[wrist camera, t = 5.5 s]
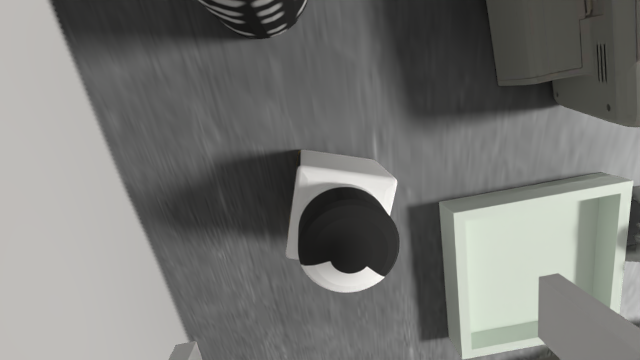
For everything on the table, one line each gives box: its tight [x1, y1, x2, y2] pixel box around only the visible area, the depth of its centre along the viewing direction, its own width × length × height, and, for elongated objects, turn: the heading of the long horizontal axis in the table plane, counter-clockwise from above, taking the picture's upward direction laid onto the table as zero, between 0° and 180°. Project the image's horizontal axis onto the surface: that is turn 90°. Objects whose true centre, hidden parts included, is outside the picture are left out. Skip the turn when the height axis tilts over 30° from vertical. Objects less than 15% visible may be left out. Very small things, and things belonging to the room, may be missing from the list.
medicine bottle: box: [286, 150, 400, 292], centre depth 23 cm, size 7×7×12 cm
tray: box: [439, 172, 633, 359], centre depth 31 cm, size 16×16×3 cm
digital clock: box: [486, 0, 640, 127], centre depth 21 cm, size 16×9×11 cm, turn 6°
